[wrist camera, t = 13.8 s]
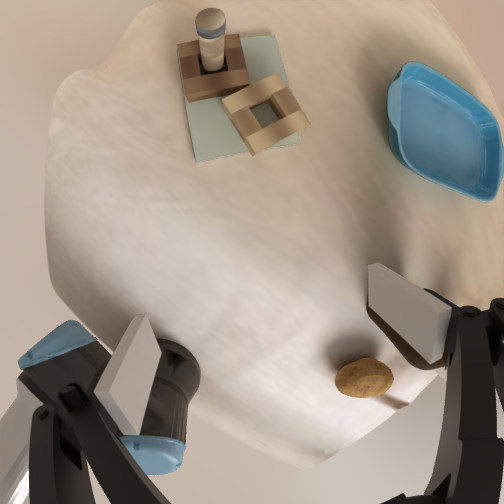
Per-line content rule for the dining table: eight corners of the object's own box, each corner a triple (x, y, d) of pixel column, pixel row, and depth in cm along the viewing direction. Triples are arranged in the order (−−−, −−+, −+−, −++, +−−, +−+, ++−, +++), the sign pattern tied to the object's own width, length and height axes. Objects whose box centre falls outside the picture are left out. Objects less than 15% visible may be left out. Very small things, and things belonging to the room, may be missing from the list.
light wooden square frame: (252, 156, 39) (255, 153, 35) (221, 107, 36) (221, 99, 33) (302, 129, 38) (310, 124, 35) (272, 81, 36) (277, 72, 32)
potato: (338, 346, 51) (354, 369, 43) (388, 351, 53) (406, 371, 45) (319, 382, 53) (331, 406, 45) (369, 384, 55) (383, 405, 48)
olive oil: (387, 330, 51) (457, 402, 27) (353, 313, 49) (428, 396, 25) (414, 287, 50) (497, 345, 25) (383, 266, 47) (477, 327, 23)
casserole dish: (363, 166, 42) (385, 165, 36) (370, 57, 37) (389, 43, 30) (480, 207, 47) (501, 211, 40) (485, 122, 42) (505, 121, 35)
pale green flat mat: (196, 162, 39) (196, 162, 38) (177, 52, 34) (176, 49, 33) (298, 144, 40) (301, 143, 39) (273, 38, 35) (275, 35, 34)
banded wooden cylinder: (205, 81, 35) (197, 30, 20) (202, 65, 34) (193, 10, 19) (225, 77, 35) (228, 25, 20) (222, 61, 34) (223, 5, 19)
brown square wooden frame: (188, 103, 36) (185, 95, 32) (180, 55, 33) (177, 44, 29) (247, 92, 36) (250, 83, 32) (237, 45, 34) (238, 33, 30)
